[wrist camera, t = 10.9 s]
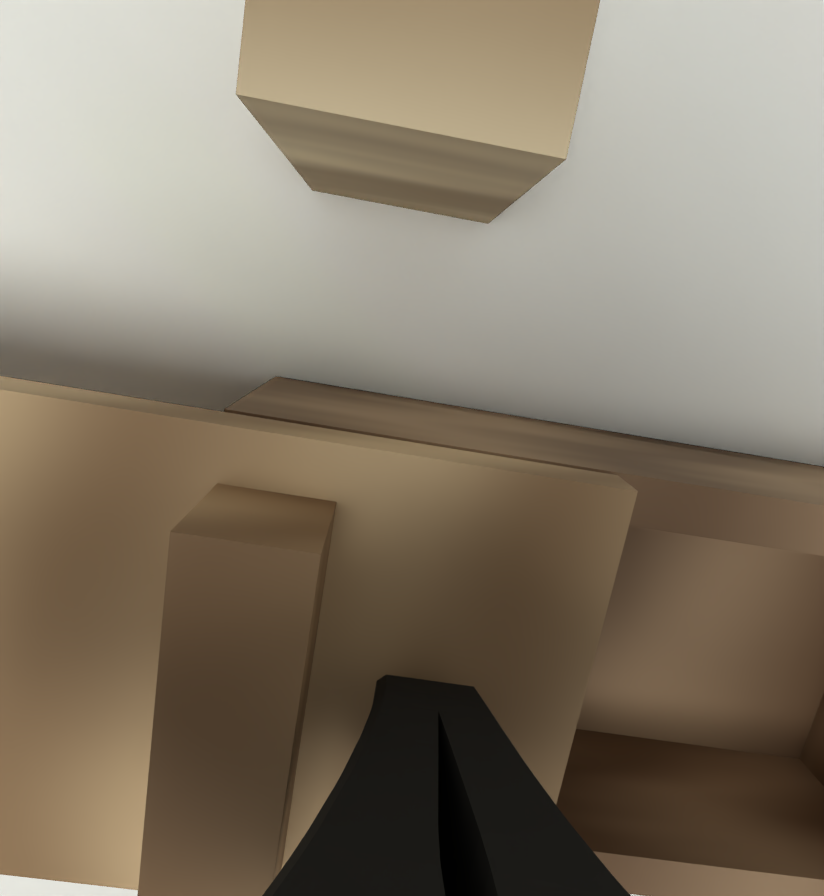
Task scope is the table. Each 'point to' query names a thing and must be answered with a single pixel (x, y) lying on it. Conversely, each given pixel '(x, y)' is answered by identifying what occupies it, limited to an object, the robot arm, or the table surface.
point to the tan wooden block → (418, 95)
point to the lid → (260, 623)
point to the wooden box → (670, 646)
